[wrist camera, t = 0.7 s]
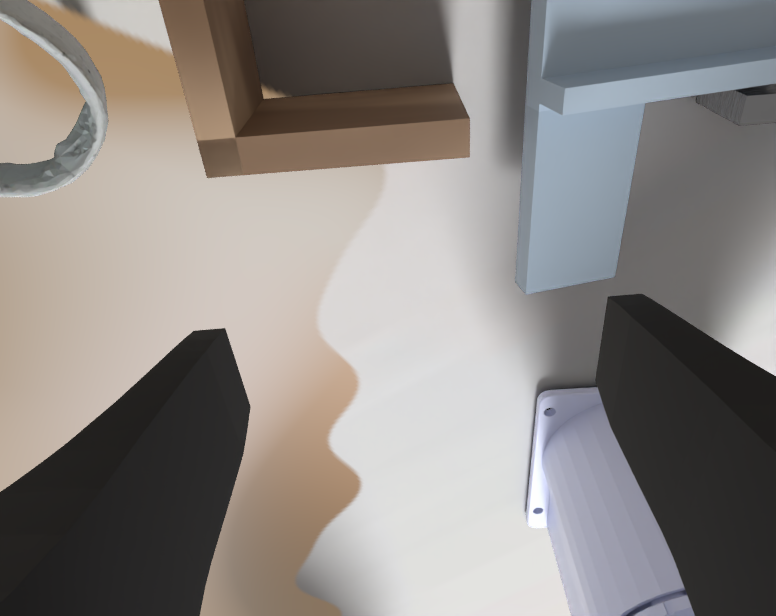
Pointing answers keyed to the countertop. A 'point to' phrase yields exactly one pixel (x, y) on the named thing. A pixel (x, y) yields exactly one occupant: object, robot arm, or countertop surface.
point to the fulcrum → (743, 104)
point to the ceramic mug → (91, 126)
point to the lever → (614, 113)
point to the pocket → (296, 107)
